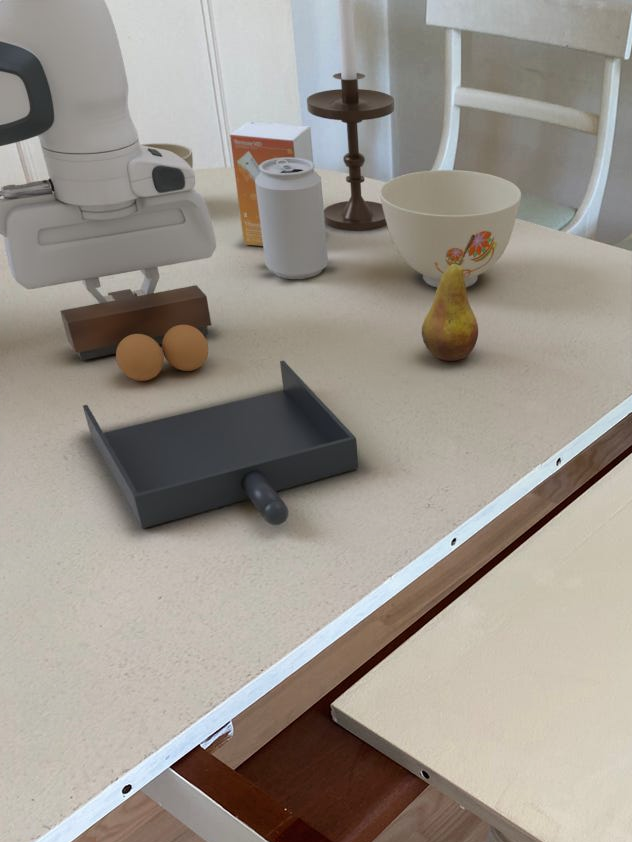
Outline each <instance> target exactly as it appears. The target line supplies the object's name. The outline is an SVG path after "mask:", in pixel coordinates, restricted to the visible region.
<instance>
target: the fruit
mask: <svg viewBox="0 0 632 842" xmlns="http://www.w3.org/2000/svg"><path fill="white" fill-rule="evenodd" d="M474 238H475V235H472V236H471V238H470V240H469V242H468V244H467V246H466V248H465V250H464V253H463V254H462V256H461V258H460V259H459V261H458V263H457V264H452V265H451V266H449V267H448V268H447V269H446V271H445V272H444V273H443V275H442V277H441V280H440V282H439V285H438V288H436V291H435V295H434V298H433V302H432V304H431V307H430V309H429V311H428V313H427V314H426V316H425V318H424V320H423V323H422V326H421V338H422V341H423V343H424V345H425V348H426V349H427V350H428V352H429V353H431V355H432V356H433V357H435V358H437V359H439V360H442V361H445V362H446V361H447V362H454V361H455V362H456V361H460V360H462V359H464V358H467V357H468V356H469V355H470V354H471V353H472V352H473V350H474V349H475V347H476V344H477V342H478V337H479V324H478V321H477V318H476V315H475V313H474V311H473V309H472V306H471V305H470V302H469V299H468V293H467V287H466V285H465V279H464V275H463V268H462V267H461V265H460V264H461V261H462V260H463V258H464V256H465V254H466V252H467V250H468V248H469V246H470V245H471V243H472V242H473V240H474Z"/></svg>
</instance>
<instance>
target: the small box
mask: <svg viewBox="0 0 632 842" xmlns="http://www.w3.org/2000/svg"><path fill="white" fill-rule="evenodd" d="M311 127H312V126H310V125H296V124H295V125H294V124H288V123H280V122H279V123H278V122H262V121H261V122H260V121H247V122H245V123H243V124H242V125H240V126H239V127H238V128H237V129H235V130H234V131H232V132H231V133H230V134H229V137H230V146H231V153H232V154H231V155H232V162H233V171H234V179H235V184H236V194H237V202H238V208H239V216H240V224H241V225H240V226H241V232H242V239H243V240H242V241H243V244H244V245H246V246H247V245H248V246H258V247H263V240H262V232H261V225H260V217H259V209H258V201H257V193H256V185H255V179H256V177H257V176H258V174H259V173H260V172H261V170H259V165H260V164H261V163H262V162H264V161H267V160H270V159H275V158H286V157H292V158H302V159H306V160H309V161H311V162H312V163H313V164H314V156H313V144H312V130H311ZM313 170H314V171H315V168H314V169H313Z"/></svg>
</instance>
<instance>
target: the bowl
mask: <svg viewBox="0 0 632 842" xmlns="http://www.w3.org/2000/svg"><path fill="white" fill-rule="evenodd" d="M379 198H380V204H382V207H383V211H384V215H385V219H386V223H387V225H386V227H387V229H388V233H389V236H390V239H391V243H392V244H393V246H394V248H395V250H396V252H397V253H398V255H399V256H400V258H401V259H402V260H403V261H404V262H405V263H406V264H407V265H408V266H409V267H410V268H412V269H413V270H414V271H416V272H418V273H419V274H421V275H422V279H423V281H424V282H425V283H426V284H427V285H429V286H430V287H433V288H436V289H437V288H438V285H439V282H440V280H441V277H442V275H443V273H444V272H445V271H446V269H447V268H448V267H449V266H451V265H452V264H457V263H458V261H459V259H460V258H461V256H462V254H463V253H464V250H465V248H466V246H467V244H468V242H469V240H470V238H471V236H472V235H475V238H474V240H473V242H472V243H471V245H470V246H469V248H468V250H467V252H466V254H465V256H464V258H463V260H462V261H461V264H460V265H461V267H462V268H463V275H464V279H465V285H466V288H470V287H471V286H473V285H474V284H475V283H476V282H477V281H478V278H479V277H478V276H479V275H482V274H483V273H485V272H486V271H487V270H490V268H491V267H492V266H494V265H495V264H496V263H497V262H498V261H499V260H500V258H501V257H502V255H503V254H504V252H505V251H506V249H507V247H508V245H509V243H510V239H511V236H512V234H513V230H514V227H515V223H516V219H517V216H518V212H519V208H520V205H521V199H522V191H521V190H520V188H519V187H518V186H517V185H515V183H513V182H511V181H509V180H507V179H505V178H502V177H499V176H496V175H492V174H489V173H484V172H478V171H472V170H461V169H460V170H459V169H458V170H457V169H434V170H424V171H415V172H411V173H407V174H403V175H399V176H396V177H394V178H391V179H390V180H388V181H386V182H385V183H384V184H383V185H382V186H381V187H380V189H379Z"/></svg>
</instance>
